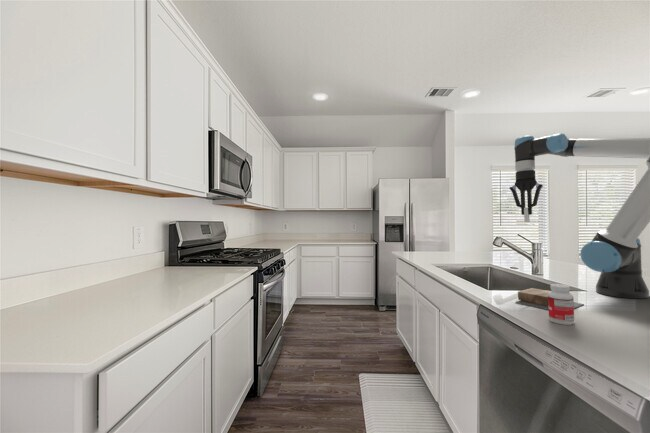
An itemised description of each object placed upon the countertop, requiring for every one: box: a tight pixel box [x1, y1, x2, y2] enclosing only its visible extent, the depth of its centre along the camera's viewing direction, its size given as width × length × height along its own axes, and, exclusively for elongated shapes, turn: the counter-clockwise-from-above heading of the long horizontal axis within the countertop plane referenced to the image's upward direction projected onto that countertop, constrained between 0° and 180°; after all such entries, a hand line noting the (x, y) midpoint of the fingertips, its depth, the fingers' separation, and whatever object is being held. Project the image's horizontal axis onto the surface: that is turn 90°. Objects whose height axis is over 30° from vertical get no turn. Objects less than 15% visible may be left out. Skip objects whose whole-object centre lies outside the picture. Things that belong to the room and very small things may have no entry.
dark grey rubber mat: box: [514, 300, 585, 311], centre depth 109 cm, size 15×16×1 cm
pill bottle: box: [548, 283, 575, 326], centre depth 91 cm, size 6×6×11 cm
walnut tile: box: [517, 287, 551, 306], centre depth 110 cm, size 3×10×13 cm
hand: (527, 221), depth 137 cm, fingers closed
